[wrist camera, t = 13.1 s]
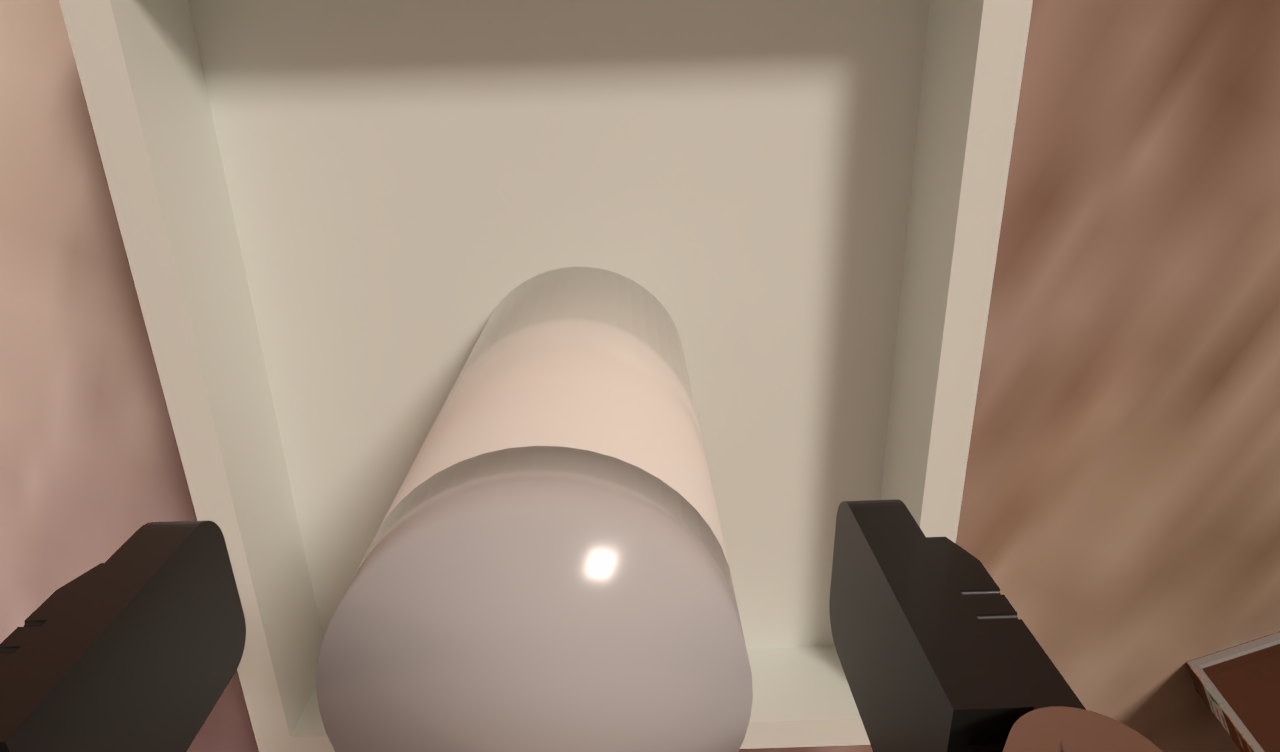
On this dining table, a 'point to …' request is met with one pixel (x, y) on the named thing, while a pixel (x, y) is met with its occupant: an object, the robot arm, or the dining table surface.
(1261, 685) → the food container
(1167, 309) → the dining table surface
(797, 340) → the tray
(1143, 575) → the dining table surface
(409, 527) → the salt shaker
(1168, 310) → the dining table surface
